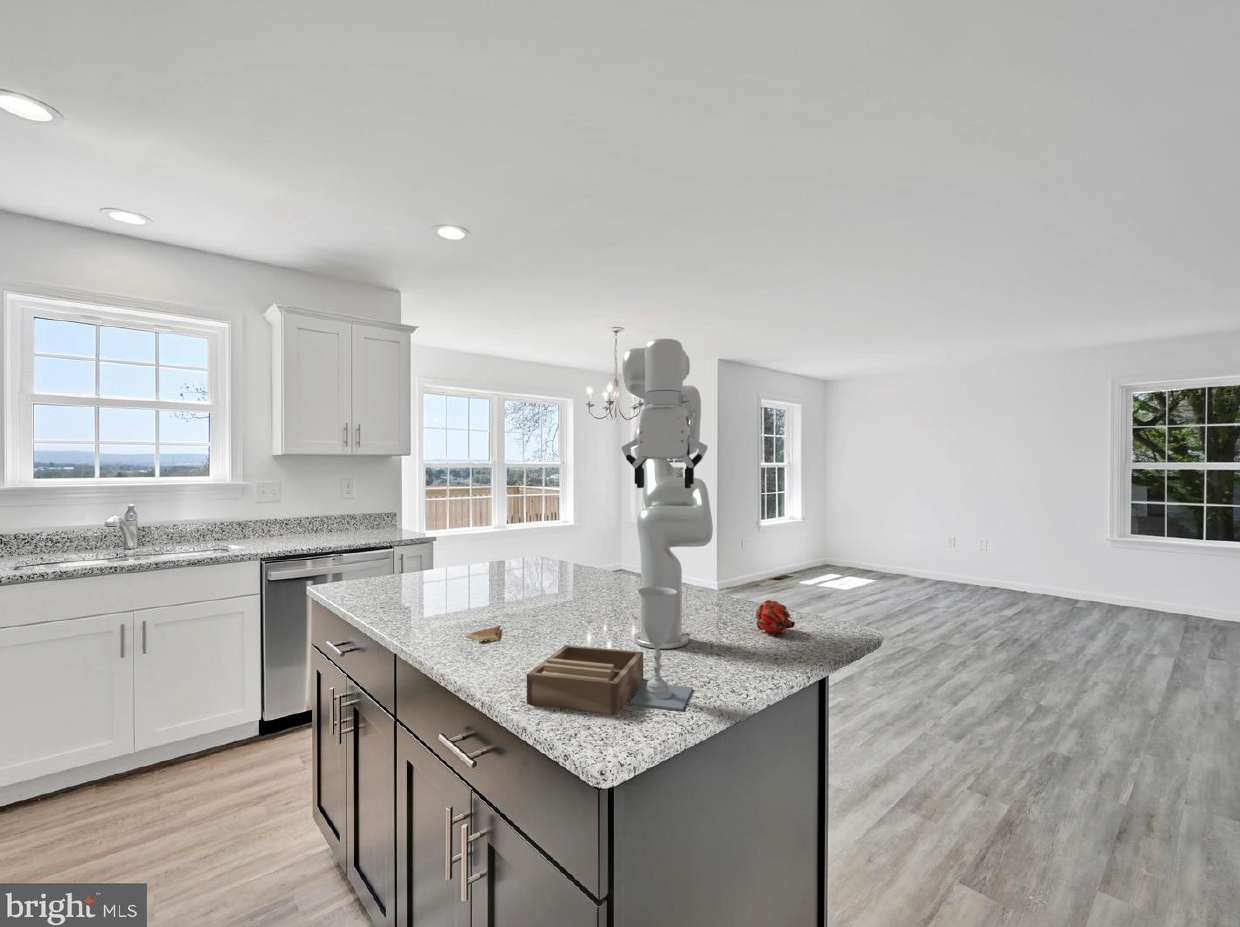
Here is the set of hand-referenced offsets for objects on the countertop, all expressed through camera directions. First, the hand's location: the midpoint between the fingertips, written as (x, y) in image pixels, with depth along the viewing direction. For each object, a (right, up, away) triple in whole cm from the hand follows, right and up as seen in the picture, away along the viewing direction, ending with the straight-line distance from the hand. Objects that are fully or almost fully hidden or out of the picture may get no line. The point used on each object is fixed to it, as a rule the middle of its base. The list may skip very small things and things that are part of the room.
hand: (663, 488), depth 116 cm
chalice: (-2, -36, -13) cm, 38 cm away
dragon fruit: (+29, -37, +27) cm, 54 cm away
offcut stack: (-16, -36, -16) cm, 43 cm away
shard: (-42, -38, +24) cm, 61 cm away
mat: (-1, -36, -14) cm, 39 cm away
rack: (-14, -36, -11) cm, 40 cm away
